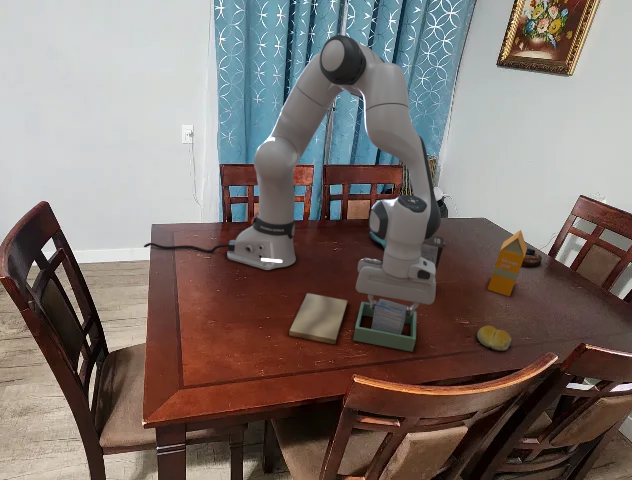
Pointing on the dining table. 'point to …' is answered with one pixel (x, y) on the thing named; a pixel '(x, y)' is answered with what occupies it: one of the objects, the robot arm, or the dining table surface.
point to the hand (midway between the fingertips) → (391, 311)
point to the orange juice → (508, 264)
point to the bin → (385, 337)
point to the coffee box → (432, 249)
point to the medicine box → (389, 317)
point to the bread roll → (494, 338)
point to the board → (319, 318)
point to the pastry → (531, 258)
